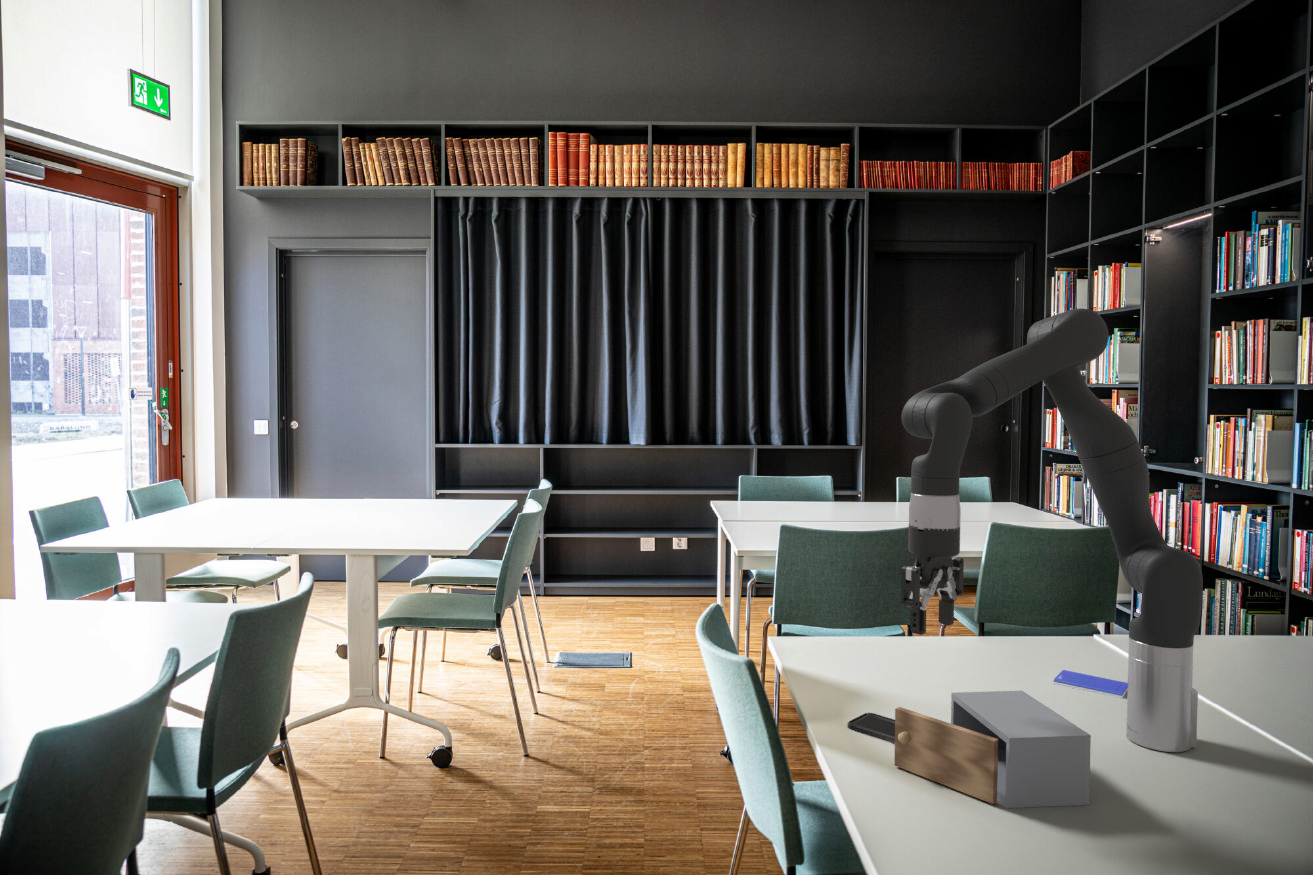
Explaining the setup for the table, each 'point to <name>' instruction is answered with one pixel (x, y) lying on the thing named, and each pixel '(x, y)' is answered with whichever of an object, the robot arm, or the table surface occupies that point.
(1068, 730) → the storage box
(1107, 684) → the hard drive
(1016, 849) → the table surface
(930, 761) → the door
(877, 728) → the phone
